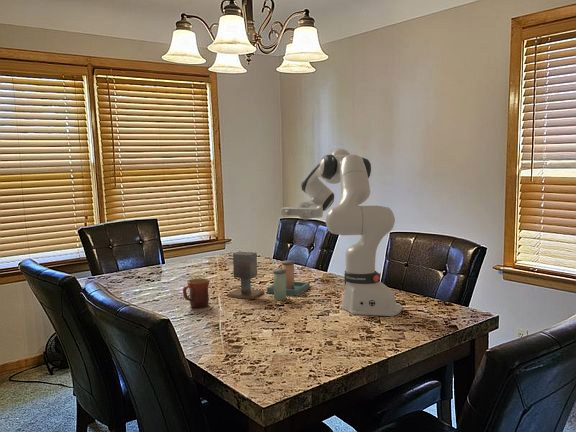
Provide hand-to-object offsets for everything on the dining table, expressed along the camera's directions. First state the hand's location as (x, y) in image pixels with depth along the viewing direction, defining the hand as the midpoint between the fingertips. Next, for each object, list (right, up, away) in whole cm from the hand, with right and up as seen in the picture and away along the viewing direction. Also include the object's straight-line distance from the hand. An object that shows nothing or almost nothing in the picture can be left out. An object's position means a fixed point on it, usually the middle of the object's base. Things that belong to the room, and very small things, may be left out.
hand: (295, 213), depth 225 cm
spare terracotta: (-3, -33, -14) cm, 36 cm away
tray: (-3, -34, -14) cm, 37 cm away
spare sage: (-7, -35, -27) cm, 45 cm away
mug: (-39, -37, -36) cm, 65 cm away
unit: (-21, -35, -20) cm, 46 cm away
